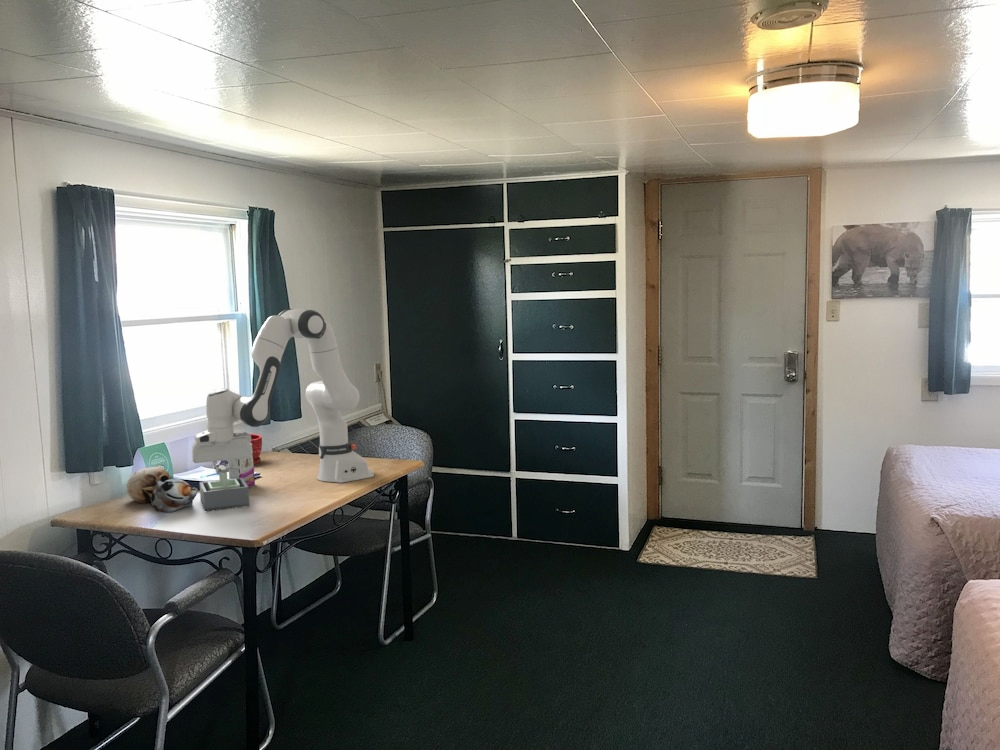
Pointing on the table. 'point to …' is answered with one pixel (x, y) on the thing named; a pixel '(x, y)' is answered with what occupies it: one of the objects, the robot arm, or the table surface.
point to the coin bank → (145, 483)
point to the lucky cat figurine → (172, 495)
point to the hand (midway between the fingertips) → (222, 472)
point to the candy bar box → (243, 469)
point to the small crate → (223, 481)
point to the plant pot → (256, 447)
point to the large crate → (224, 496)
